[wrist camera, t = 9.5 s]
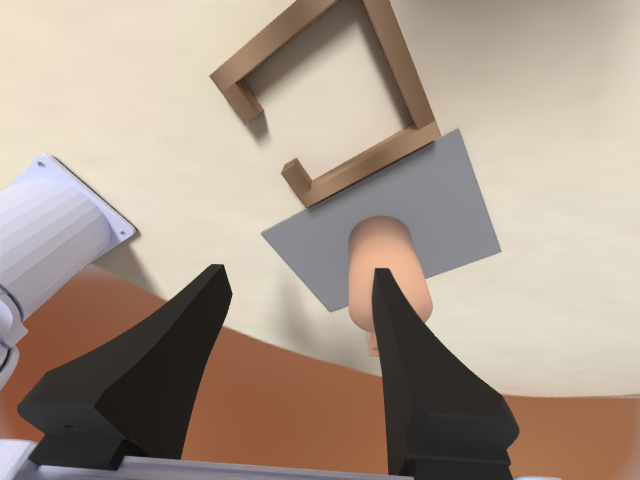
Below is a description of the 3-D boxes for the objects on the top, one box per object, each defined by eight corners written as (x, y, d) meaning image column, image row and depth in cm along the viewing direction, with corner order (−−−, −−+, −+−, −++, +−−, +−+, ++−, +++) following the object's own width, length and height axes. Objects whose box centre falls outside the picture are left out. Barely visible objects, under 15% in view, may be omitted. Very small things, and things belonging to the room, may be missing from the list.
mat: (330, 310, 29) (329, 312, 29) (261, 232, 24) (260, 234, 24) (500, 250, 23) (501, 251, 23) (457, 128, 18) (458, 129, 18)
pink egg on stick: (400, 299, 27) (415, 370, 21) (347, 297, 27) (347, 367, 22) (415, 215, 21) (440, 281, 16) (348, 215, 22) (349, 279, 16)
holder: (308, 197, 21) (306, 207, 20) (218, 72, 17) (209, 75, 16) (435, 129, 18) (441, 136, 17) (364, -52, 13) (365, -60, 12)
